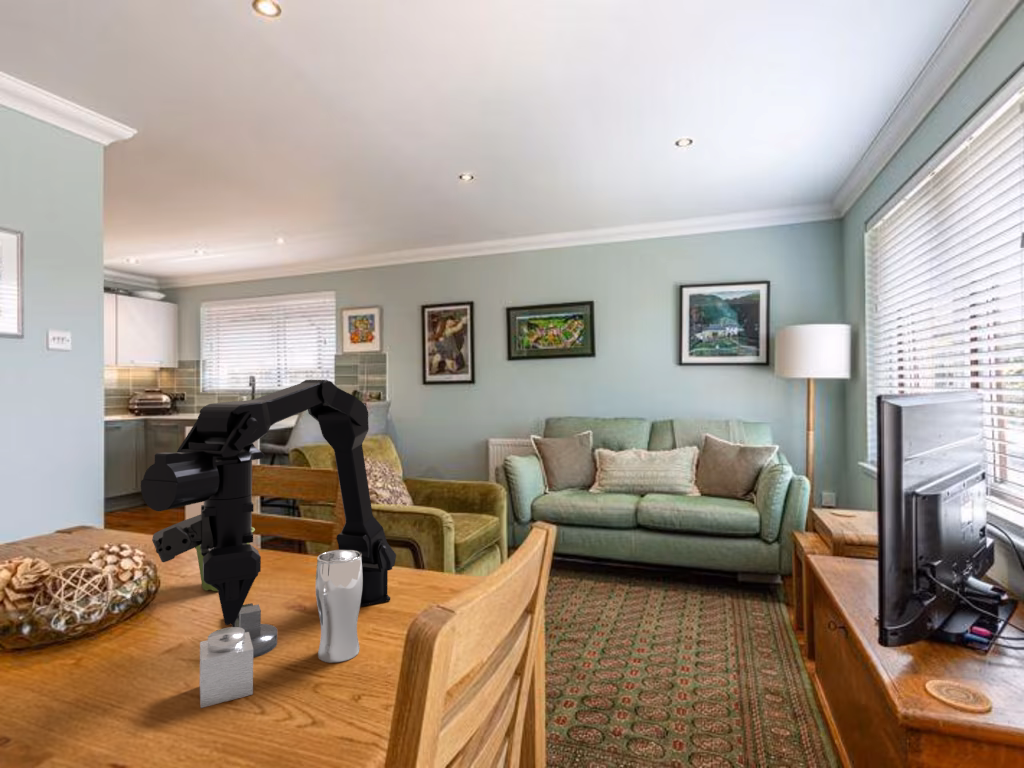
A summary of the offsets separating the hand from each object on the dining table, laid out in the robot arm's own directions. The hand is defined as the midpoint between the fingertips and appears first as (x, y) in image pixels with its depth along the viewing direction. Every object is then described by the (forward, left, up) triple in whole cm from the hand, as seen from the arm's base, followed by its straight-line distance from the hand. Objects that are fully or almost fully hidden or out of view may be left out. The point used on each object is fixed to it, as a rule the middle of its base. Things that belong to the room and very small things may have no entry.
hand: (227, 611), depth 73 cm
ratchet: (-4, -17, -11) cm, 21 cm away
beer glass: (-15, -3, -11) cm, 19 cm away
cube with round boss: (0, 0, -11) cm, 11 cm away
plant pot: (-2, -45, -11) cm, 46 cm away
